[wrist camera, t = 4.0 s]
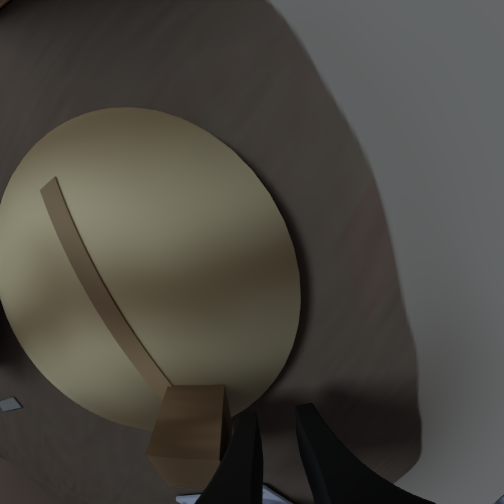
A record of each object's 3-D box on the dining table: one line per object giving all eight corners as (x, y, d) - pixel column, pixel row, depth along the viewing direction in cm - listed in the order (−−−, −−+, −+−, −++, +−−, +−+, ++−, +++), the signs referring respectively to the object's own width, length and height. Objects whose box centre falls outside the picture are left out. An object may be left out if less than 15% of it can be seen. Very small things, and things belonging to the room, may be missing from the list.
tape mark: (22, 406, 12) (21, 407, 12) (4, 410, 13) (4, 411, 12) (14, 396, 12) (13, 397, 12) (-3, 401, 12) (-3, 402, 12)
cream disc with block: (343, 369, 11) (380, 442, 7) (104, 436, 12) (82, 487, 8) (195, 45, 8) (168, -29, 3) (-25, 226, 9) (-80, 243, 4)
